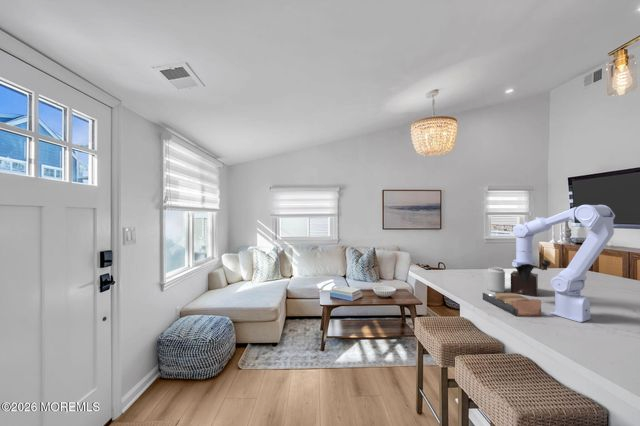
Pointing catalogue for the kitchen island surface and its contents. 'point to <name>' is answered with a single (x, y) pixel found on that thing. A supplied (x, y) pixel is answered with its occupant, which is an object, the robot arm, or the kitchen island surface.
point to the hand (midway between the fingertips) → (524, 281)
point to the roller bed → (516, 305)
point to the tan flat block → (509, 297)
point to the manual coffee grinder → (529, 286)
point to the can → (496, 279)
